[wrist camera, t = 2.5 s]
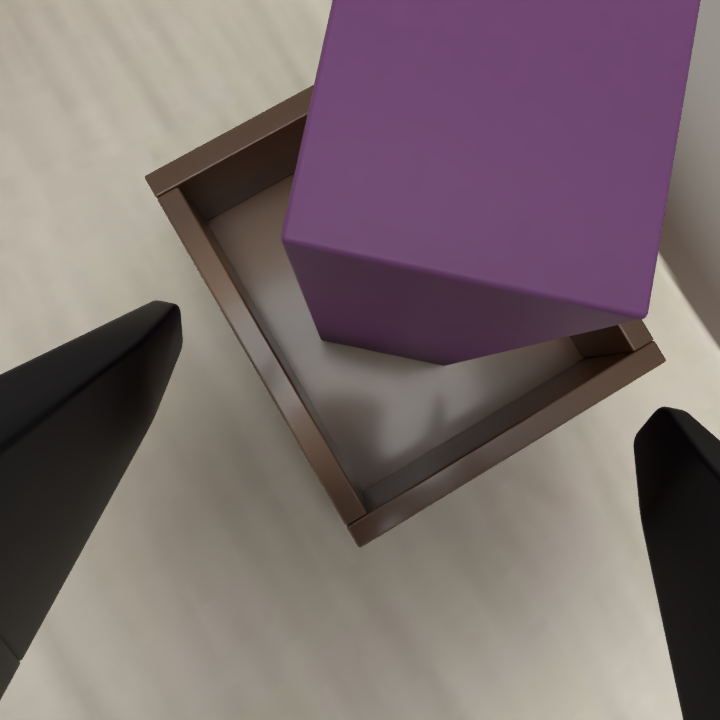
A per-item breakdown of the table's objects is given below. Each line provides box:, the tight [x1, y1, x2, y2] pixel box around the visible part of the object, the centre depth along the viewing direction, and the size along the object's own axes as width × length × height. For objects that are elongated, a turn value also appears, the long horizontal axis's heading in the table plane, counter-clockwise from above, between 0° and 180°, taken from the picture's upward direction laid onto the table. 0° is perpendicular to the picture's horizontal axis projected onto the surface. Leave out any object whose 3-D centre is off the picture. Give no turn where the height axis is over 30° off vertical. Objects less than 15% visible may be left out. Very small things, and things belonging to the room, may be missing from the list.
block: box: [281, 0, 700, 366], centre depth 13 cm, size 5×5×13 cm
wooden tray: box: [145, 85, 666, 548], centre depth 18 cm, size 14×12×4 cm
